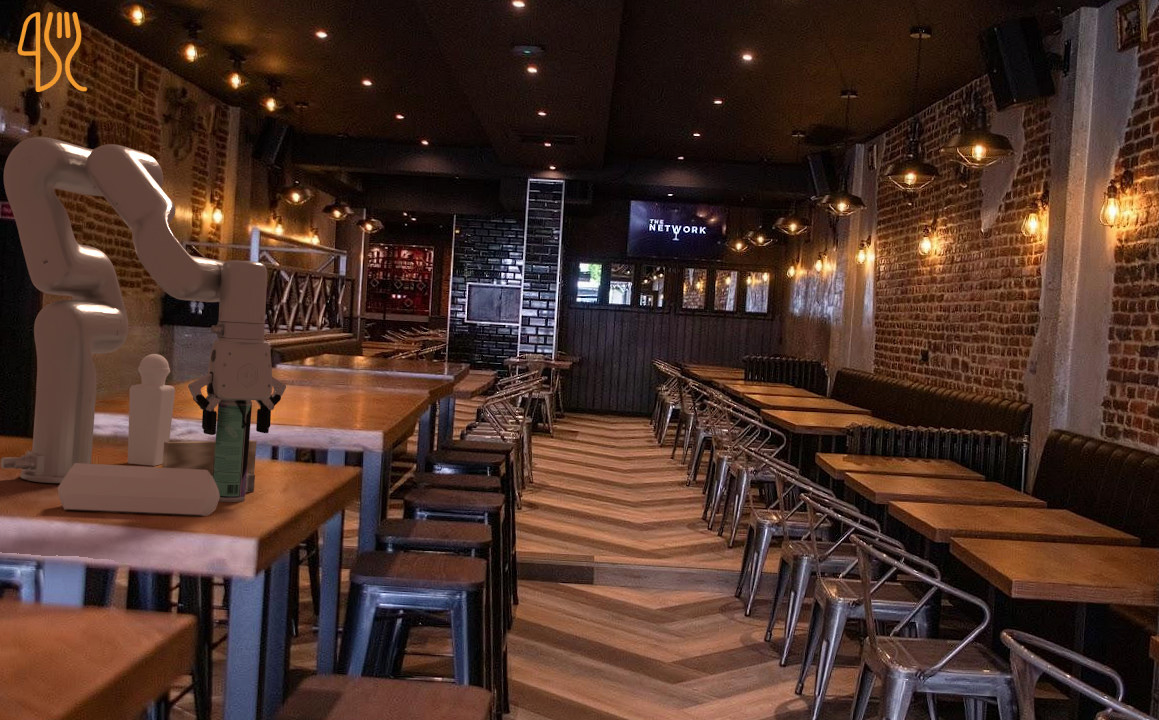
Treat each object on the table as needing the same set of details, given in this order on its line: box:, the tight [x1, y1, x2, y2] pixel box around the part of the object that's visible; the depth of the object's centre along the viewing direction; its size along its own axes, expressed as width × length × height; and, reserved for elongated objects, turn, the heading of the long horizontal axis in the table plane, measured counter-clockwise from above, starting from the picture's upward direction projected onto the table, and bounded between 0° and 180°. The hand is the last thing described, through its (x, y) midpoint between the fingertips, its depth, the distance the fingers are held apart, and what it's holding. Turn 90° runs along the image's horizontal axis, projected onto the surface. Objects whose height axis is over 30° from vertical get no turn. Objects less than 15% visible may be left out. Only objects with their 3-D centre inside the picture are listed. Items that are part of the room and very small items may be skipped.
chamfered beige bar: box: [57, 463, 220, 517], centre depth 163 cm, size 7×7×24 cm
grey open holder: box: [161, 439, 257, 493], centre depth 188 cm, size 17×9×8 cm, turn 136°
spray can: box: [213, 399, 253, 503], centre depth 178 cm, size 6×6×20 cm
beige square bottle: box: [127, 353, 176, 467], centre depth 208 cm, size 6×6×22 cm
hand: (236, 433), depth 178 cm, fingers open, 9 cm apart
